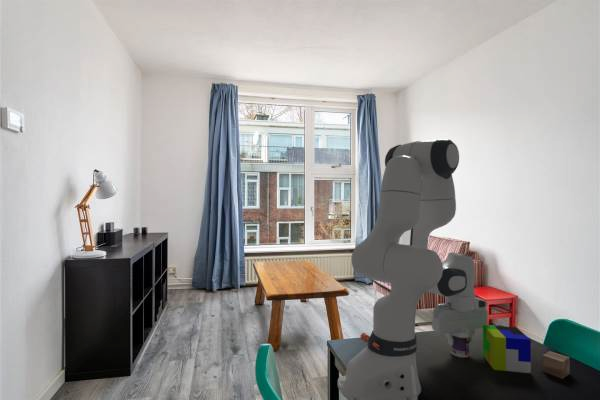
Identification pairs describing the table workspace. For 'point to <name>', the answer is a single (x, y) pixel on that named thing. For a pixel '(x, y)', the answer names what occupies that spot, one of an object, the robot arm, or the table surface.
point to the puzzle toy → (507, 348)
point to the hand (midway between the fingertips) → (459, 343)
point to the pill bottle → (461, 343)
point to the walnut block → (556, 364)
